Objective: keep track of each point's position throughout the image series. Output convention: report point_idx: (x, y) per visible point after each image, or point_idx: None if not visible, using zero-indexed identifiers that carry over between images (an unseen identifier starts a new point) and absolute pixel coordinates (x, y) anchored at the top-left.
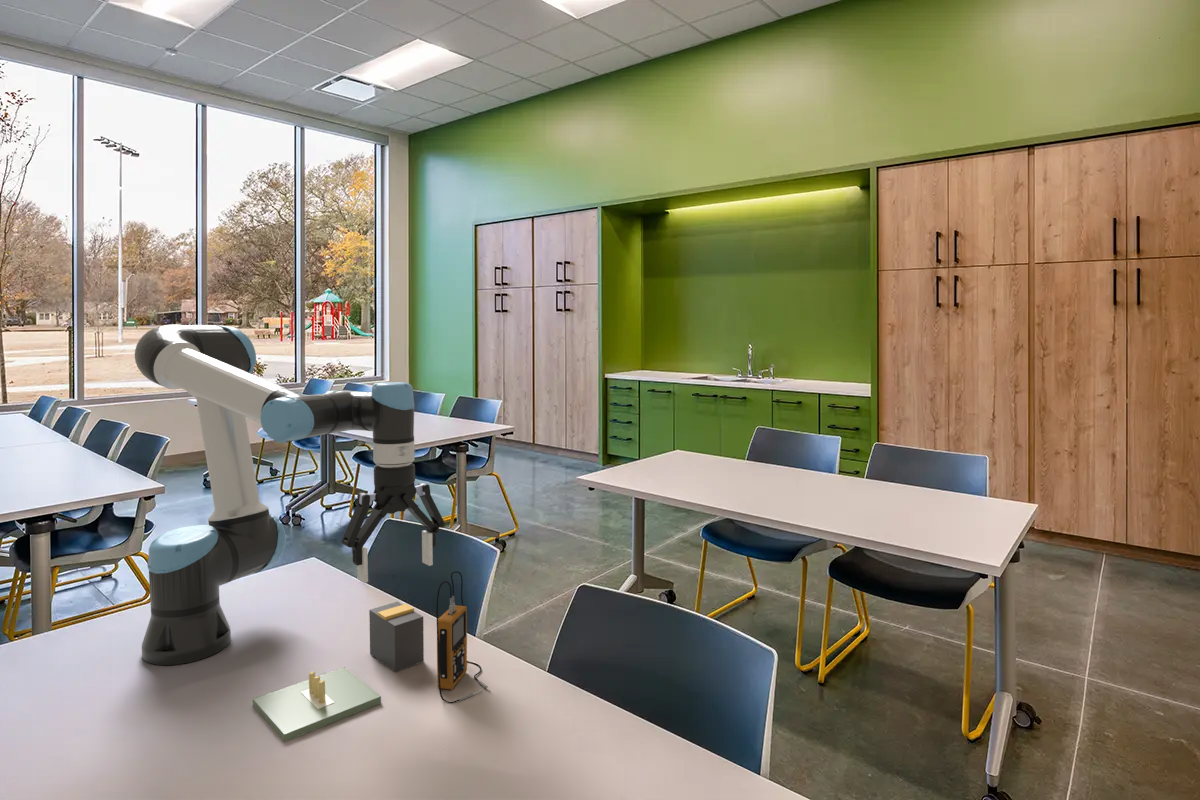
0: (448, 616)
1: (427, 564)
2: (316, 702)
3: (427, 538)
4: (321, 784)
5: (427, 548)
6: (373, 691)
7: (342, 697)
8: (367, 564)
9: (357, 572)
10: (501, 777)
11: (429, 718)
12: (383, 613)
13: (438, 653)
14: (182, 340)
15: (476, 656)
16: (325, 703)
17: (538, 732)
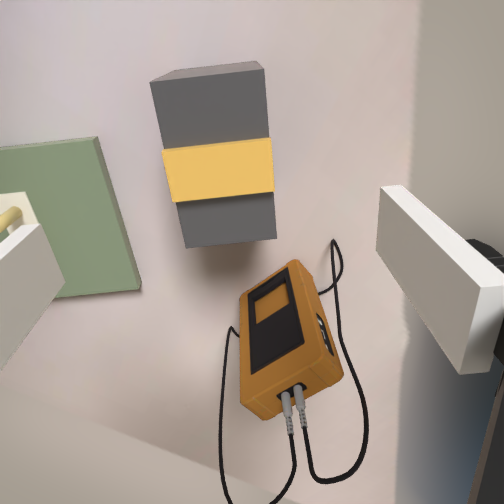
0: (271, 404)
1: (378, 234)
2: None
3: (442, 327)
4: (35, 391)
5: (411, 284)
6: (130, 269)
7: (73, 257)
8: (23, 339)
9: (2, 242)
10: (217, 457)
11: (195, 350)
12: (175, 173)
13: (221, 393)
14: None
15: (363, 233)
16: None
17: (295, 427)
